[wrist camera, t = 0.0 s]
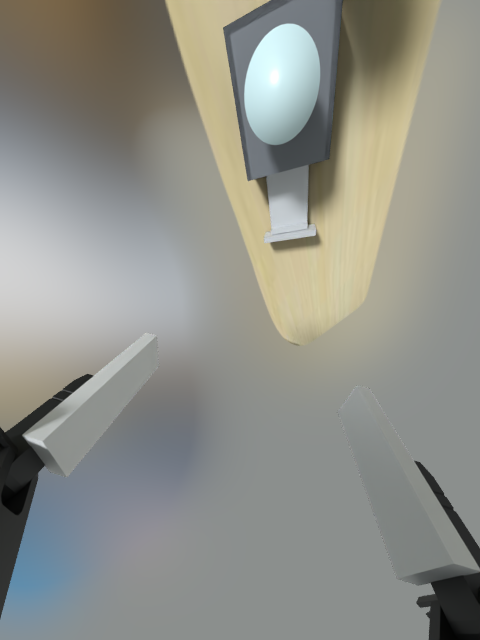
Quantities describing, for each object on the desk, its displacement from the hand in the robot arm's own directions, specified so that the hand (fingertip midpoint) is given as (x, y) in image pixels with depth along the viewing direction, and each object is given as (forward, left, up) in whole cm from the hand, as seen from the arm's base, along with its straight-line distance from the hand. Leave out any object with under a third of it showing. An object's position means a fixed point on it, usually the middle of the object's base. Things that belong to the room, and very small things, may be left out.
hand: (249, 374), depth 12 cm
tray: (-4, -4, -28) cm, 28 cm away
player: (-7, -11, -28) cm, 31 cm away
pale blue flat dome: (-7, -11, -20) cm, 24 cm away
